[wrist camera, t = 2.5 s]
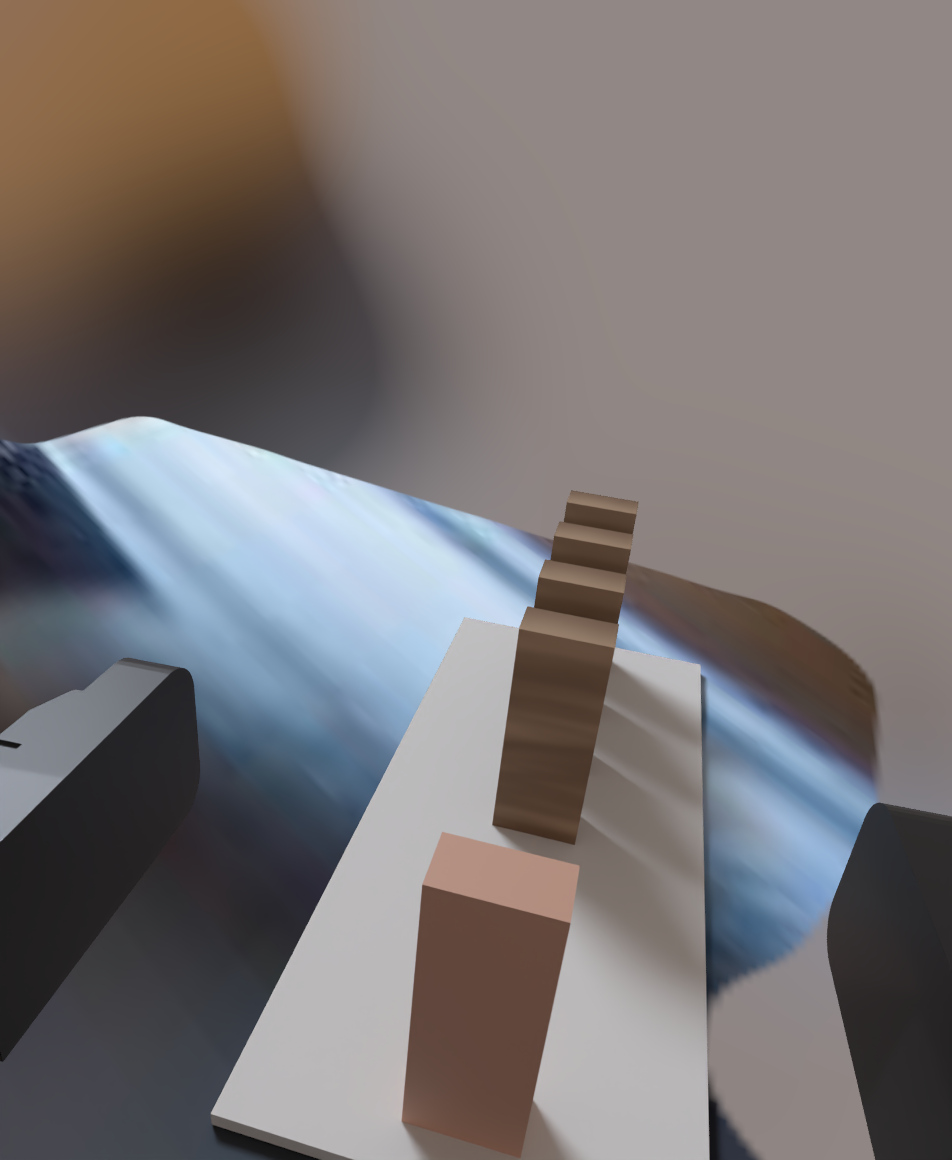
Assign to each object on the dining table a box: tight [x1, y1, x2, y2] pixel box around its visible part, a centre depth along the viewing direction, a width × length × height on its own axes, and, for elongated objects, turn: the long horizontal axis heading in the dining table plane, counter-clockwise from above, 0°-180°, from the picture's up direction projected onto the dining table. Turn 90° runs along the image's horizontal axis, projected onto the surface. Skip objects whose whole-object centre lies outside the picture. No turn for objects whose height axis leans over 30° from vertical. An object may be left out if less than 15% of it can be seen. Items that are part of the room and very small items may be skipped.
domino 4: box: [492, 606, 619, 845], centre depth 37 cm, size 2×4×11 cm, turn 77°
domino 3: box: [534, 559, 627, 624], centre depth 41 cm, size 2×4×11 cm, turn 77°
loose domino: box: [401, 832, 580, 1158], centre depth 25 cm, size 2×4×11 cm, turn 76°
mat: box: [211, 617, 709, 1160], centre depth 40 cm, size 34×16×1 cm, turn 167°
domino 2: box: [551, 522, 633, 574], centre depth 46 cm, size 2×4×11 cm, turn 77°
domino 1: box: [564, 491, 638, 534], centre depth 50 cm, size 2×4×11 cm, turn 76°
